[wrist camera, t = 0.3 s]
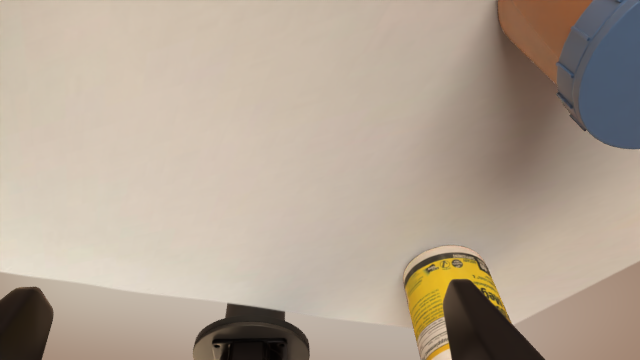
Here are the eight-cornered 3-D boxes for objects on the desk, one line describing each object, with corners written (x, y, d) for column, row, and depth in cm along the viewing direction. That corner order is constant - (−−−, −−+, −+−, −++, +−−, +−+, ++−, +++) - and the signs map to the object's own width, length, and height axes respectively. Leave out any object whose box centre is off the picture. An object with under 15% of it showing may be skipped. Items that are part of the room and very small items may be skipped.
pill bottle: (501, 258, 32) (576, 415, 23) (446, 302, 35) (494, 454, 26) (437, 230, 30) (494, 392, 21) (385, 280, 33) (415, 438, 24)
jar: (590, 51, 22) (703, 135, 16) (482, 48, 21) (555, 132, 15) (647, -77, 18) (822, -32, 12) (520, -82, 18) (634, -39, 12)
